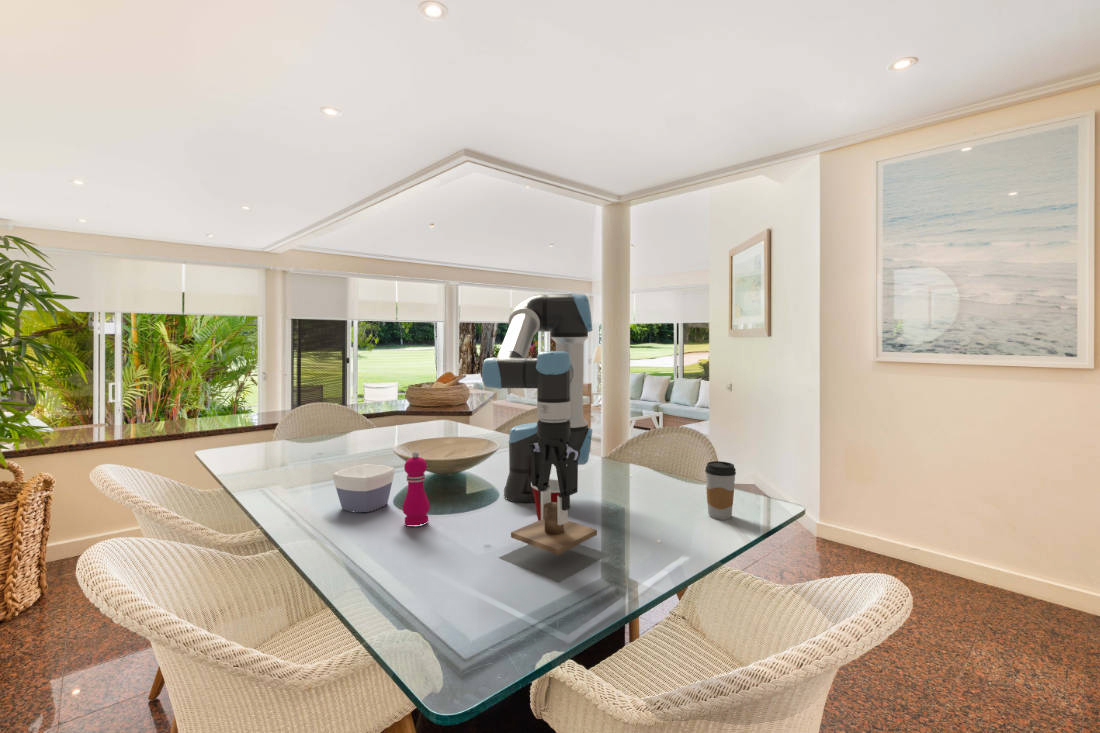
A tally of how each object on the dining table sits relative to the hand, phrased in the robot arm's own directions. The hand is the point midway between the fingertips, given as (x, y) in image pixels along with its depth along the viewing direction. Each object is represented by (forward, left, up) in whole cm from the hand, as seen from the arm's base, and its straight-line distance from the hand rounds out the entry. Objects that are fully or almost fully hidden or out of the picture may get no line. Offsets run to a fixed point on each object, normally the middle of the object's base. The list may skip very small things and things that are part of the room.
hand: (554, 520), depth 116 cm
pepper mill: (-44, -7, -9) cm, 45 cm away
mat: (0, 0, -9) cm, 9 cm away
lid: (0, 0, -4) cm, 4 cm away
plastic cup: (-14, +15, -9) cm, 22 cm away
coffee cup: (+17, +53, -9) cm, 56 cm away
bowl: (-68, -9, -9) cm, 69 cm away
